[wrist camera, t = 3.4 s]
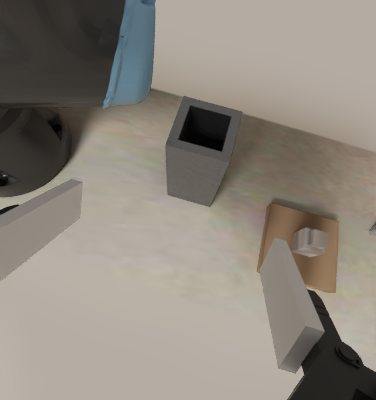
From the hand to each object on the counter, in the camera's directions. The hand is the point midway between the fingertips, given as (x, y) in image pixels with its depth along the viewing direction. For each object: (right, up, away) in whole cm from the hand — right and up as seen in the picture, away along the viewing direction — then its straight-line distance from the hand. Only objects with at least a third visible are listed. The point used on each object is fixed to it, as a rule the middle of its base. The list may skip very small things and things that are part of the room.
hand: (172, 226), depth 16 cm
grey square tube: (+2, +4, +18) cm, 19 cm away
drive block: (+15, -5, +16) cm, 22 cm away
